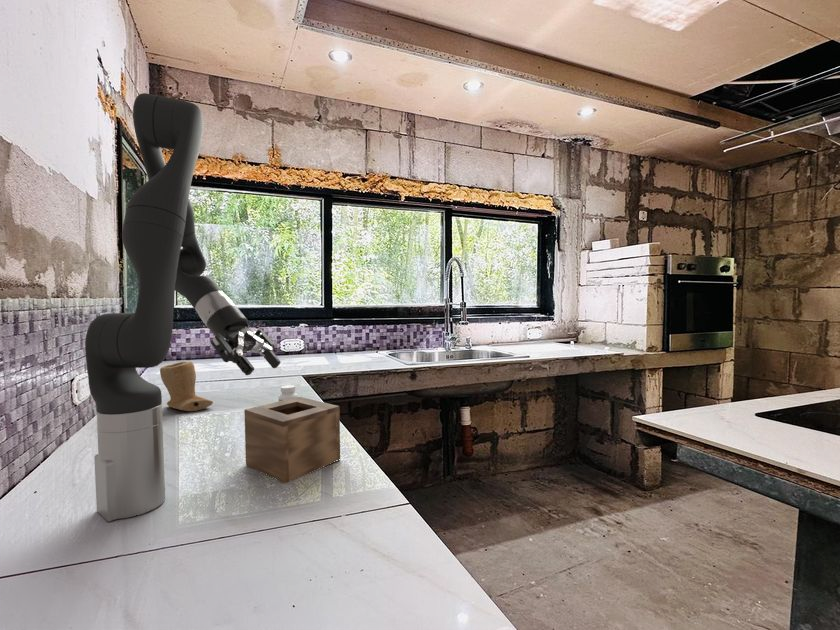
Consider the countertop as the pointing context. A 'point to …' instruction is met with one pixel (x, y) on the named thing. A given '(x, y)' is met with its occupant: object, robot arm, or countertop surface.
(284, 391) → the supplement bottle
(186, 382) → the tan fabric boot shape
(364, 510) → the countertop surface
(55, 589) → the countertop surface
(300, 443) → the walnut box
